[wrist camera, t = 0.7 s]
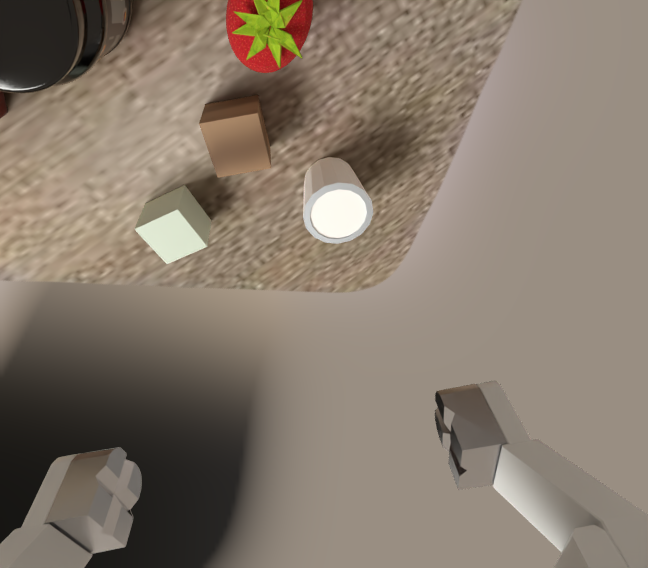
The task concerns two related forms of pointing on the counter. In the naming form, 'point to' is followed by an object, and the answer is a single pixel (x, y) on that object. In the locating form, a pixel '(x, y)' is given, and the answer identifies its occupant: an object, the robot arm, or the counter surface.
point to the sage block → (174, 225)
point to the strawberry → (268, 31)
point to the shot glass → (335, 202)
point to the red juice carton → (2, 105)
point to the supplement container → (56, 40)
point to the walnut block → (236, 136)
